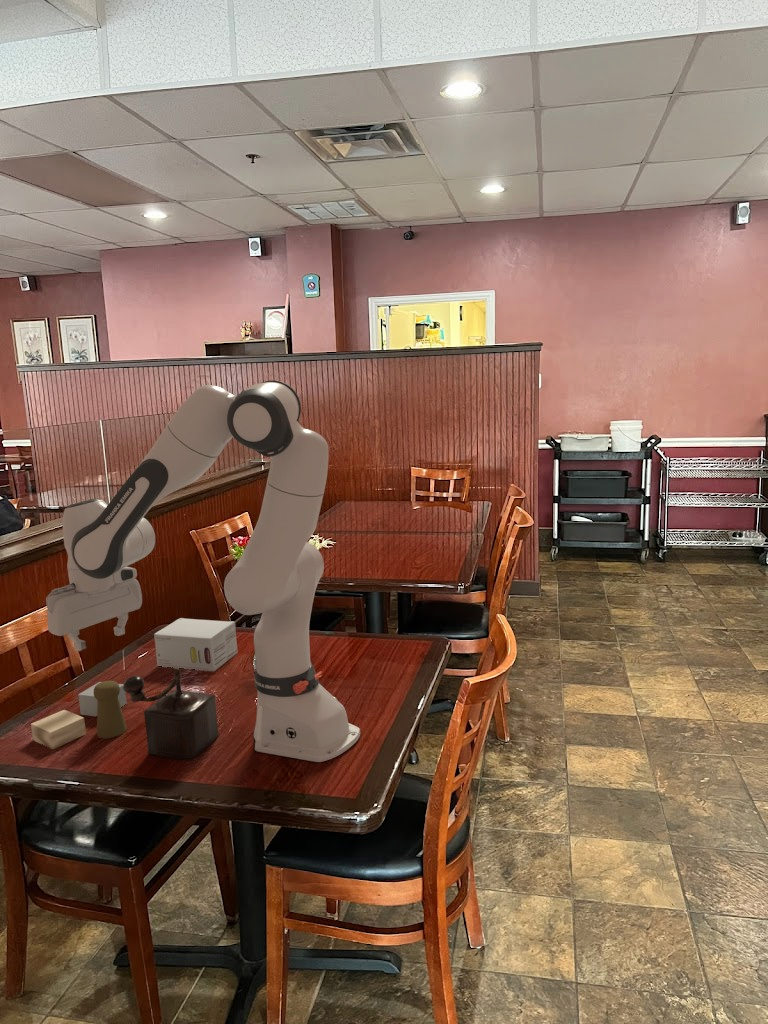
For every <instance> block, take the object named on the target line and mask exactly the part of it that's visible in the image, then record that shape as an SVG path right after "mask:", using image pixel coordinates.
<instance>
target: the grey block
mask: <svg viewBox="0 0 768 1024" xmlns="http://www.w3.org/2000/svg"><path fill="white" fill-rule="evenodd" d="M101 682H102V681H98V682H96V683H95V684H93V685H92V686H90V687H88V688H87V689H86V690H83V691H82V692H80V693H78V695H77V696H78V697H77V698H78V702H79V703H78V705H79V709H80V716H81V715H82V716H91V717H96V716H97V702H98V700H97V699H96V698H95V697H94V688H95V686H96V685H97V684H99V683H101ZM118 684H119V687H120V693H119V695H118V698H119V702H120V705H121V707H122V706H123V707H125V706H126V705H127V703H128V701H127V695H126V693H127V692H125V691H124V689H123V686H124V683H118ZM125 704H126V705H125ZM124 705H125V706H124ZM123 707H122V708H123Z"/></svg>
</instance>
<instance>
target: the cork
mask: <svg viewBox="0 0 768 1024" xmlns="http://www.w3.org/2000/svg"><path fill="white" fill-rule="evenodd" d="M100 682H101V683H99V684H97V683H96V684H97V685H96V686H95V688H94V697H95V698H96V699H97V700H98V702H97V717H96V718H97V719H96V736H97V737H98V738H100V739H111V738H116V737H119V736H121V735H124V733H126V731H127V730H128V729H127V725H126V720H125V717H124V713H123V709H122V708H121V705H120V702H119V698H118V695H119V693H120V687H119V684H120V683H118V682H117V681H115V680H105V681H100ZM115 736H116V737H115Z"/></svg>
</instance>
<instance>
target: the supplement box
mask: <svg viewBox="0 0 768 1024" xmlns="http://www.w3.org/2000/svg"><path fill="white" fill-rule="evenodd" d="M153 636H154V637H153V638H154V645H155V646H154V647H155V656H156V663H157V664H156V665H157V666H162V667H161V668H167V667H171V668H170V669H177V668H178V669H179V668H184V669H183V670H191V669H195V670H194V671H203V670H204V671H205V672H215V671H216V670H218V669H219V668H220V667H221V666H223V665H224V664H226V663H227V661H229V660H230V659H231V658H233V657H234V656H235V655H236V654H238V653H239V651H238V643H237V632H236V622H235V621H229V620H228V621H227V620H215V619H214V620H210V619H197V618H196V619H195V618H186V617H185V618H184V617H180V618H178V619H176V620H174V621H173V622H171V623H170V624H168V625H166V626H165V627H163V628H162V629H160V630H158V631H157V632H155V633H154V634H153ZM172 667H173V668H172Z"/></svg>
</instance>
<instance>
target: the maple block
mask: <svg viewBox="0 0 768 1024" xmlns="http://www.w3.org/2000/svg"><path fill="white" fill-rule="evenodd" d="M30 727H31V736H32V741H34V742H36V743H38V744H40V745H42V744H43V746H44V745H45V746H44V747H46V746H47V747H46V748H48V747H49V748H48V749H51V750H55V749H57V748H59V747H61V746H63V745H66V744H67V743H70V742H72V741H75V740H76V739H78V738H81V737H82V736H85V735H86V734H87V730H86V723H85V717H83V716H81V715H79V714H76V713H73V712H71V711H68V710H66V709H62V710H60V711H58V712H56V713H53V714H50V715H48V716H46V717H43V718H40V719H38V720H36V721H35V722H32V723H30Z"/></svg>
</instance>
